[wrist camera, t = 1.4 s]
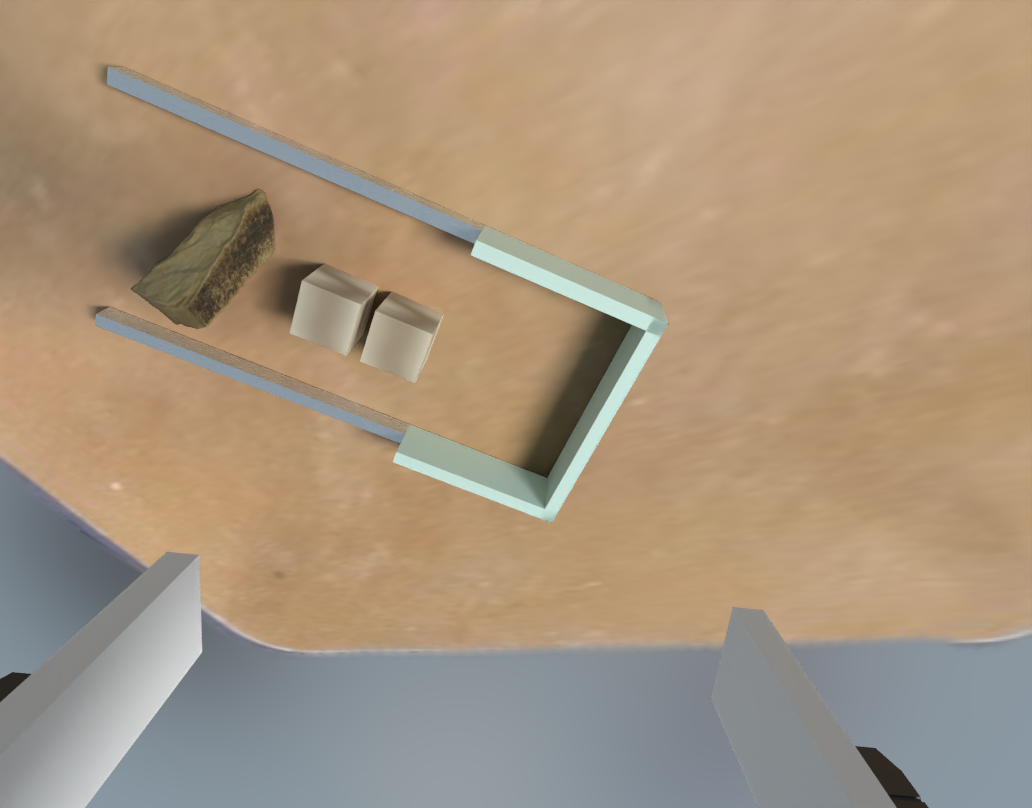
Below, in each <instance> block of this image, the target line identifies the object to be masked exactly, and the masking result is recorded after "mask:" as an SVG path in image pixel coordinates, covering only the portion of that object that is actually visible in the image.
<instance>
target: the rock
mask: <svg viewBox="0 0 1032 808" xmlns="http://www.w3.org/2000/svg"><path fill="white" fill-rule="evenodd" d="M273 252H274V220H273V215H272V212H271V209H270V206H269V204H268V202H267V199H266V195H265V192H264V191H262V190H256V191H255V192H254V193H253V194H252V195H251V196H249V197H245V198H243V199H240V200H238V201H236V202H231V203H228V204H226V205H224V206H222V207H220V206H218V207H217V208H216V209H215V210H214V211H212V212H211V213H210V214H209V215H207V216H205V217H204V218H202V219H201V220H200V221H199V223H198V224H197V225H196V226H195V227H194V229H193V230H192V232H191V233H190V235H188V236H187V237H186V238H185V239H184V240H183V241H182V242H181V243H180V245H179V246H178V247H177V248H176V249H175V250H174V251H173V252H172V254H171V255H170V256H169V257H168V258H166V259H164V260H161V261H159V262H157V263H156V264H155V266H154V267H153V268H152V270H151V271H150V272H149V273H148V274H147V275H146V276H145V277H144V278H143V279H142V280H141V281H140V282H139V283H137V284H135V285H134V286H133V287H132V288H131V290H133V291H134V292H135V293H137V294H139V295H140V296H141V297H142V298H144V299H145V300H146V301H148V302H149V303H150V304H151V305H152V306H154V307H155V308H156V309H158V310H159V311H161V312H162V313H163V314H164V315H165V316H167V317H168V318H169V319H170V320H171V321H172V322H174V323H175V324H177V325H178V324H183V325H184V326H188V327H192V328H196V329H200V328H203V327H207V326H208V325H210V324H211V323H212V322H213V320H214V319H215V318H216V317H217V316H218V315H219V313H221V312H222V311H223V309H224V308H225V307H226V306H227V305H228V304H229V303H230V301H231V300H232V299H233V297H234V296H235V295H236V294H237V292H238V290H239V289H240V288H241V287H242V286H243V284H244V282H245V281H246V280H247V279H248V278H250V277H251V276H252V275H253V274H254V273H255V272H256V270H257V269H258V268H259V267H261V266H262V265H263V264H264V263H265V262H266V260H267V259H268V258H269V257H270V256H271V255H272V254H273Z"/></svg>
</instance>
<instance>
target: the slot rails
mask: <svg viewBox="0 0 1032 808" xmlns="http://www.w3.org/2000/svg"><path fill="white" fill-rule="evenodd" d="M107 85H109V86H112V87H114V88H116V89H119V90H121V91H123V92H125V93H128V94H130V95H132V96H135V97H137V98H139V99H142V100H144V101H146V102H149V103H151V104H153V105H155V106H158V107H160V108H162V109H165V110H167V111H169V112H172V113H174V114H176V115H178V116H181V117H183V118H185V119H188V120H190V121H192V122H195V123H197V124H199V125H202V126H204V127H206V128H208V129H211V130H213V131H215V132H218V133H220V134H222V135H225V136H227V137H229V138H232V139H234V140H236V141H238V142H241V143H243V144H245V145H248V146H250V147H252V148H255V149H257V150H259V151H261V152H264V153H266V154H268V155H271V156H273V157H275V158H278V159H280V160H282V161H285V162H287V163H289V164H291V165H294V166H296V167H298V168H301V169H303V170H305V171H308V172H310V173H312V174H314V175H317V176H319V177H321V178H324V179H326V180H328V181H331V182H333V183H335V184H338V185H340V186H342V187H344V188H347V189H349V190H351V191H354V192H356V193H358V194H361V195H363V196H365V197H367V198H370V199H372V200H374V201H377V202H379V203H381V204H384V205H386V206H388V207H391V208H393V209H395V210H397V211H400V212H402V213H404V214H407V215H409V216H411V217H414V218H416V219H418V220H420V221H423V222H425V223H427V224H430V225H432V226H434V227H437V228H439V229H441V230H444V231H446V232H448V233H450V234H453V235H455V236H457V237H460V238H462V239H464V240H467V241H469V242H471V243H473V244H475V242H476V240H477V238H478V236H479V235H480V233H481V231H482V230H483V228H484V226H485V225H483V224H481V223H479V222H477V221H474V220H472V219H470V218H467V217H465V216H463V215H461V214H458V213H456V212H454V211H451V210H449V209H447V208H445V207H442V206H440V205H438V204H436V203H433V202H431V201H429V200H426V199H424V198H422V197H420V196H417V195H415V194H413V193H410V192H408V191H406V190H404V189H401V188H399V187H397V186H394V185H392V184H390V183H388V182H385V181H383V180H381V179H379V178H376V177H374V176H372V175H369V174H367V173H365V172H363V171H360V170H358V169H356V168H353V167H351V166H349V165H347V164H344V163H342V162H340V161H337V160H335V159H333V158H331V157H328V156H326V155H324V154H322V153H319V152H317V151H315V150H312V149H310V148H308V147H306V146H303V145H301V144H299V143H296V142H294V141H292V140H290V139H287V138H285V137H283V136H281V135H278V134H276V133H274V132H271V131H269V130H267V129H265V128H262V127H260V126H258V125H255V124H253V123H251V122H249V121H246V120H244V119H242V118H239V117H237V116H235V115H233V114H230V113H228V112H226V111H224V110H221V109H219V108H217V107H214V106H212V105H210V104H208V103H205V102H203V101H201V100H198V99H196V98H194V97H192V96H189V95H187V94H185V93H182V92H180V91H178V90H176V89H173V88H171V87H169V86H167V85H164V84H162V83H160V82H157V81H155V80H153V79H151V78H148V77H146V76H144V75H141V74H139V73H137V72H135V71H132V70H130V69H128V68H126V67H108V70H107ZM95 326H98V327H100V328H103V329H106V330H108V331H111V332H113V333H116V334H118V335H121V336H124V337H126V338H129V339H131V340H134V341H137V342H139V343H142V344H144V345H147V346H149V347H152V348H155V349H157V350H160V351H162V352H165V353H168V354H170V355H173V356H175V357H178V358H181V359H183V360H186V361H188V362H191V363H193V364H196V365H199V366H201V367H204V368H206V369H209V370H212V371H214V372H217V373H219V374H222V375H224V376H227V377H230V378H232V379H235V380H237V381H240V382H243V383H245V384H248V385H250V386H253V387H255V388H258V389H261V390H263V391H266V392H268V393H271V394H274V395H276V396H279V397H281V398H284V399H286V400H289V401H292V402H294V403H297V404H299V405H302V406H305V407H307V408H310V409H312V410H315V411H317V412H320V413H323V414H325V415H328V416H330V417H333V418H336V419H338V420H341V421H343V422H346V423H348V424H351V425H354V426H356V427H359V428H361V429H364V430H367V431H369V432H372V433H374V434H377V435H380V436H382V437H385V438H387V439H390V440H392V441H395V442H398V443H400V444H401V442H402V440H403V437H404V435H405V433H406V431H407V429H408V427H409V425H410V424H408V423H405V422H403V421H400V420H398V419H395V418H392V417H390V416H387V415H385V414H382V413H380V412H377V411H375V410H372V409H369V408H367V407H364V406H362V405H359V404H357V403H354V402H352V401H349V400H347V399H344V398H341V397H339V396H336V395H334V394H331V393H329V392H326V391H324V390H321V389H318V388H316V387H313V386H311V385H308V384H306V383H303V382H301V381H298V380H295V379H293V378H290V377H288V376H285V375H283V374H280V373H278V372H275V371H272V370H270V369H267V368H265V367H262V366H260V365H257V364H255V363H252V362H249V361H247V360H244V359H242V358H239V357H237V356H234V355H232V354H229V353H226V352H224V351H221V350H219V349H216V348H214V347H211V346H209V345H206V344H203V343H201V342H198V341H196V340H193V339H191V338H188V337H186V336H183V335H181V334H178V333H175V332H173V331H170V330H168V329H165V328H163V327H160V326H158V325H155V324H152V323H150V322H147V321H145V320H142V319H140V318H137V317H135V316H132V315H129V314H127V313H124V312H122V311H119V310H117V309H114V308H112V307H109V308H107V309H105V310H103V311H101V312H99V313H97V314H96V321H95Z"/></svg>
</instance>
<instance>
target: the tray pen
mask: <svg viewBox="0 0 1032 808" xmlns="http://www.w3.org/2000/svg"><path fill="white" fill-rule="evenodd" d="M471 256H474V257H476V258H478V259H481V260H483V261H485V262H488V263H490V264H492V265H495V266H497V267H499V268H502V269H504V270H506V271H509V272H511V273H513V274H516V275H518V276H520V277H522V278H525V279H527V280H529V281H532V282H534V283H536V284H539V285H541V286H543V287H546V288H548V289H550V290H553V291H555V292H557V293H560V294H562V295H564V296H567V297H569V298H571V299H574V300H576V301H578V302H580V303H583V304H585V305H587V306H590V307H592V308H594V309H597V310H599V311H601V312H604V313H606V314H608V315H611V316H613V317H615V318H618V319H620V320H622V321H625V322H627V323H629V324H631V327H630V329H629V331H628V333H627V334H626V336H625V338H624V340H623V342H622V343H621V345H620V347H619V349H618V351H617V352H616V354H615V356H614V358H613V360H612V362H611V363H610V365H609V367H608V369H607V371H606V372H605V374H604V376H603V378H602V380H601V381H600V383H599V385H598V387H597V389H596V390H595V392H594V394H593V396H592V398H591V400H590V401H589V403H588V405H587V407H586V409H585V410H584V412H583V414H582V416H581V418H580V419H579V421H578V423H577V425H576V427H575V429H574V430H573V432H572V434H571V436H570V438H569V439H568V441H567V443H566V445H565V447H564V448H563V450H562V452H561V454H560V456H559V457H558V459H557V461H556V463H555V465H554V467H553V468H552V470H551V472H550V474H549V476H548V477H547V478H546V477H543V476H541V475H538V474H535V473H533V472H530V471H528V470H525V469H523V468H520V467H518V466H515V465H512V464H510V463H507V462H505V461H502V460H500V459H497V458H495V457H492V456H489V455H487V454H484V453H482V452H479V451H477V450H474V449H472V448H469V447H466V446H464V445H461V444H459V443H456V442H454V441H451V440H449V439H446V438H444V437H441V436H438V435H436V434H433V433H431V432H428V431H426V430H423V429H421V428H418V427H415V426H413V425H409V427H408V429H407V431H406V433H405V435H404V437H403V440H402V442H401V444H400V446H399V448H398V450H397V452H396V455H395V458H394V460H393V462H394V463H397V464H399V465H402V466H404V467H407V468H410V469H412V470H415V471H417V472H420V473H423V474H425V475H428V476H430V477H433V478H436V479H438V480H441V481H444V482H446V483H449V484H451V485H454V486H457V487H459V488H462V489H464V490H467V491H470V492H472V493H475V494H478V495H480V496H483V497H485V498H488V499H491V500H493V501H496V502H498V503H501V504H504V505H506V506H509V507H512V508H514V509H517V510H519V511H522V512H525V513H527V514H530V515H532V516H535V517H538V518H540V519H543V520H546V521H548V522H551V523H552V521H553V519H554V518H555V516H556V514H557V513H558V511H559V509H560V507H561V506H562V504H563V502H564V501H565V499H566V497H567V496H568V494H569V492H570V490H571V489H572V487H573V485H574V484H575V482H576V480H577V478H578V477H579V475H580V473H581V472H582V470H583V468H584V467H585V465H586V463H587V461H588V460H589V458H590V456H591V455H592V453H593V451H594V449H595V448H596V446H597V444H598V443H599V441H600V439H601V438H602V436H603V434H604V432H605V431H606V429H607V427H608V426H609V424H610V422H611V420H612V419H613V417H614V415H615V414H616V412H617V410H618V408H619V407H620V405H621V403H622V402H623V400H624V398H625V397H626V395H627V393H628V391H629V390H630V388H631V386H632V385H633V383H634V381H635V379H636V378H637V376H638V374H639V373H640V371H641V369H642V368H643V366H644V364H645V362H646V361H647V359H648V357H649V356H650V354H651V352H652V350H653V349H654V347H655V345H656V344H657V342H658V340H659V339H660V337H661V335H662V333H663V332H664V330H665V328H666V327H667V325H668V321H667V319H666V316H665V313H664V310H663V308H662V305H661V302H659V301H657V300H654V299H652V298H650V297H647V296H645V295H643V294H641V293H638V292H636V291H634V290H631V289H629V288H627V287H625V286H622V285H620V284H618V283H616V282H613V281H611V280H609V279H606V278H604V277H602V276H600V275H597V274H595V273H593V272H590V271H588V270H586V269H584V268H581V267H579V266H577V265H575V264H572V263H570V262H568V261H565V260H563V259H561V258H559V257H556V256H554V255H552V254H549V253H547V252H545V251H543V250H540V249H538V248H536V247H533V246H531V245H529V244H527V243H524V242H522V241H520V240H518V239H515V238H513V237H511V236H508V235H506V234H504V233H502V232H499V231H497V230H495V229H492V228H490V227H488V226H486V225H485V226H484V228H483V230H482V231H481V233H480V235H479V236H478V238H477V240H476V242H475V245H474V248H473V250H472V253H471Z"/></svg>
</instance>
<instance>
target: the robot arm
mask: <svg viewBox="0 0 1032 808" xmlns="http://www.w3.org/2000/svg"><path fill="white" fill-rule="evenodd" d="M201 635H202V634H201V600H200V567H199V555H194V554H183V553H173V552H166V553H165V554H164V555H163V556H162V557H161V558H160V559H158V560H157V561H156V562H155V563H154V564H153V565H152V566H151V567H150V568H149V569H147V570H146V571H145V572H144V573H143V574H142V575H141V576H140V577H139V578H137V579H136V580H135V581H134V582H133V583H132V584H131V585H130V586H129V587H128V588H126V589H125V590H124V591H123V592H122V593H121V594H120V595H119V596H118V597H116V598H115V599H114V600H113V601H112V602H111V603H110V604H109V605H108V606H106V607H105V608H104V609H103V610H102V611H101V612H100V613H99V614H98V615H96V616H95V617H94V618H93V619H92V620H91V621H90V622H89V623H88V624H87V625H85V626H84V627H83V628H82V629H81V630H80V631H79V632H78V633H77V634H75V635H74V636H73V637H72V638H71V639H70V640H69V641H68V642H67V643H66V644H65V645H63V646H62V647H61V648H60V649H59V650H58V651H57V652H56V653H55V654H53V655H52V656H51V657H50V658H49V659H48V660H47V661H46V662H44V663H43V664H42V665H41V666H40V667H39V668H38V669H37V670H36V671H35V672H34V673H33V674H25V673H14V672H12V673H10V674H9V675H7V676H5V677H3V678H1V679H0V808H85V807H86V805H87V804H88V803H89V802H90V800H91V799H92V797H93V796H94V795H95V794H96V792H97V791H98V790H99V788H100V787H101V786H102V784H103V783H104V782H105V780H106V779H107V778H108V776H109V775H110V774H111V772H112V771H113V770H114V768H115V767H116V765H117V764H118V763H119V762H120V760H121V759H122V758H123V756H124V755H125V754H126V752H127V751H128V750H129V748H130V747H131V746H132V744H133V743H134V741H135V740H136V739H137V738H138V736H139V735H140V734H141V732H142V731H143V730H144V728H145V727H146V726H147V724H148V723H149V722H150V720H151V719H152V718H153V717H154V715H155V714H156V712H157V711H158V710H159V709H160V707H161V706H162V705H163V703H164V702H165V701H166V699H167V698H168V696H169V695H170V694H171V693H172V691H173V690H174V689H175V687H176V686H177V685H178V683H179V682H180V681H181V679H182V678H183V677H184V675H185V674H186V673H187V671H188V670H189V669H190V667H191V666H192V665H193V663H194V662H195V661H196V659H197V658H198V657H199V655H200V654H201V653H202V637H201ZM711 700H712V703H713V705H714V707H715V710H716V712H717V714H718V717H719V719H720V721H721V724H722V726H723V728H724V730H725V733H726V735H727V737H728V740H729V742H730V744H731V747H732V749H733V751H734V753H735V756H736V758H737V761H738V763H739V765H740V767H741V770H742V772H743V774H744V777H745V779H746V781H747V784H748V786H749V788H750V790H751V793H752V795H753V798H754V800H755V802H756V805H757V807H758V808H928V807H927V805H926V804H925V802H921V797H920V796H919V794H918V793H917V792H916V790H915V789H914V787H913V786H912V785H911V783H910V782H909V781H908V779H907V778H906V776H905V775H904V774H903V772H902V771H901V770H900V769H899V768H897V767H896V766H895V765H894V764H893V763H892V762H891V761H889V760H888V759H887V758H886V757H885V756H884V755H883V754H881V753H880V752H879V751H878V750H877V749H876V748H869V747H857V746H855V745H854V744H853V742H852V741H851V739H850V738H849V736H848V735H847V733H846V732H845V731H844V729H843V728H842V726H841V725H840V723H839V722H838V720H837V719H836V717H835V716H834V714H833V713H832V711H831V710H830V708H829V707H828V705H827V704H826V703H825V701H824V699H823V698H822V697H821V695H820V694H819V692H818V691H817V689H816V688H815V686H814V685H813V683H812V682H811V680H810V679H809V677H808V676H807V674H806V673H805V671H804V670H803V669H802V667H801V665H800V664H799V663H798V661H797V660H796V658H795V657H794V655H793V654H792V652H791V651H790V649H789V648H788V646H787V645H786V643H785V642H784V640H783V639H782V637H781V636H780V634H779V633H778V631H777V630H776V629H775V627H774V626H773V624H772V623H771V621H770V620H769V618H768V617H767V615H766V614H765V612H764V611H763V610H757V609H746V608H736V607H733V609H732V613H731V617H730V621H729V626H728V630H727V634H726V638H725V642H724V646H723V650H722V655H721V659H720V663H719V667H718V672H717V675H716V679H715V684H714V688H713V692H712V696H711Z"/></svg>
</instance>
